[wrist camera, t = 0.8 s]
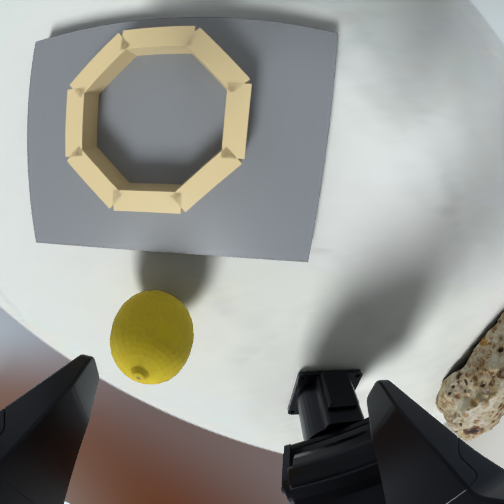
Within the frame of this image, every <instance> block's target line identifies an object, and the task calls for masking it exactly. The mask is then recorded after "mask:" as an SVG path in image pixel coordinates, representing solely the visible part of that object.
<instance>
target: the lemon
mask: <svg viewBox="0 0 504 504" xmlns="http://www.w3.org/2000/svg"><path fill="white" fill-rule="evenodd" d="M193 336H194V334H193V323H192V320H191V317H190V315H189V312H188V310H187V309H186V307H185V306H184V305H183V303H182V302H181V301H180V300H178V299H177V298H176V297H174V296H173V295H171V294H169V293H166V292H163V291H158V290H149V291H143V292H141V293H138V294H136V295H134V296H132V297H131V298H130V299H129V300H127V301H126V302H125V303H124V304H123V305H122V307H121V308H120V310H119V312H118V313H117V315H116V317H115V319H114V322H113V325H112V330H111V336H110V347H111V354H112V357H113V359H114V361H115V363H116V365H117V366H118V367H119V369H120V370H121V371H122V372H123V373H124V374H125V375H126V376H127V377H129V378H131V379H132V380H134V381H137V382H139V383H143V384H159V383H162V382H165V381H168V380H170V379H171V378H173V377H174V376H175V375H177V374H178V373H179V371H180V370H181V369H182V367H183V366H184V364H185V363H186V361H187V359H188V357H189V355H190V351H191V348H192V344H193Z"/></svg>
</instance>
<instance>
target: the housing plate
mask: <svg viewBox="0 0 504 504" xmlns="http://www.w3.org/2000/svg"><path fill="white" fill-rule="evenodd" d="M337 41H338V33H334V32H330V31H325V30H320V29H316V28H310V27H305V26H299V25H293V24H287V23H280V22H272V21H263V20H253V19H240V18H221V17H180V18H161V19H148V20H138V21H130V22H122V23H115V24H109V25H103V26H98V27H92V28H87V29H83V30H78V31H74V32H70V33H66V34H62V35H58V36H54V37H51V38H47V39H44V40H41V41H37V42H36V43H35V49H34V55H33V62H32V70H31V78H30V88H29V101H28V122H27V155H28V177H29V190H30V201H31V210H32V218H33V225H34V232H35V238H36V242H37V243H49V244H62V245H75V246H88V247H101V248H114V249H127V250H141V251H155V252H168V253H182V254H196V255H211V256H225V257H240V258H254V259H269V260H284V261H300V262H308V259H309V254H310V248H311V243H312V237H313V232H314V226H315V220H316V214H317V208H318V202H319V195H320V189H321V182H322V175H323V169H324V162H325V154H326V147H327V139H328V131H329V123H330V115H331V106H332V97H333V87H334V77H335V66H336V54H337Z"/></svg>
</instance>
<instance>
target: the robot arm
mask: <svg viewBox="0 0 504 504" xmlns="http://www.w3.org/2000/svg"><path fill="white" fill-rule="evenodd" d="M361 377H362V372H361V370H341V371H316V372H301V373H299V374H298V377H297V380H296V383H295V387H294V390H293V393H292V397H291V400H290V403H289V406H288V414H291V415H294V414H299V417H300V422H301V427H302V433H303V438H304V441H302V442H299V443H296V444H292V445H291V444H289V445H286V446H284V453H283V470H282V487H281V490H282V492H283V493H284V494H286V496H287V498H288V500H289V502H290V503H291V504H504V469H503V468H501V467H500V466H498V465H496V464H495V463H493V462H492V461H490V460H489V459H487V458H485V457H484V456H482V455H481V454H480V453H478V452H477V451H475V450H474V449H473V448H471V447H470V446H469V445H467V444H466V443H465V442H463V441H462V440H461V439H460V438H457V436H456V435H455V434H454V433H452V432H451V431H450V430H449V429H448V428H446V427H445V426H444V425H443V424H441V423H440V422H439V421H438V420H437V419H435V418H434V417H433V416H432V415H430V414H429V413H428V412H427V411H426V410H424V409H423V408H422V407H421V406H419V405H418V404H417V403H416V402H415V401H413V400H412V399H411V398H410V397H409V396H407V395H406V394H405V393H404V392H402V391H401V390H400V389H399V388H398V387H396V386H395V385H394V384H393V383H392V382H390V381H389V380H379V381H377V382H376V383H375V384H374V386H373V388H372V390H371V391H370V393H369V395H368V397H367V407H368V413H369V417H368V418H366V419H364V416H363V414H362V411H361V408H360V405H359V401H358V398H357V395H356V393H355V389H356V387H357V385H358V383H359V381H360V379H361ZM98 381H99V374H98V370H97V366H96V363H95V359H94V358H93V357H92V356H88V355H80V356H78V357H77V358H75V359H74V360H72V361H71V362H69V363H68V364H67V365H65V366H64V367H62V368H61V369H59V370H58V371H56V372H55V373H54V374H52V375H51V376H49V377H48V378H46V379H45V380H44V381H42V382H41V383H39V384H38V385H36V386H35V387H33V388H32V389H31V390H29V391H28V392H26V393H25V394H23V395H22V396H21V397H19V398H18V399H16V400H15V401H13V402H12V403H11V404H10V405H8V406H6V408H5V409H2V410H1V411H0V504H64V501H65V497H66V493H67V490H68V486H69V482H70V479H71V475H72V472H73V469H74V465H75V462H76V459H77V455H78V453H79V449H80V446H81V443H82V440H83V437H84V434H85V431H86V428H87V426H88V422H89V419H90V415H91V410H92V406H93V402H94V397H95V393H96V389H97V385H98Z"/></svg>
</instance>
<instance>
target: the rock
mask: <svg viewBox="0 0 504 504" xmlns="http://www.w3.org/2000/svg"><path fill="white" fill-rule="evenodd" d="M436 405H437V408H438V409H439V411H440V412H441V413H443V414H444V418H445V419H446V421H447V423H448V425H449V426H450V427H451V430H452V431H454V432H455V433H456V434H457V435H458V436H459V437H460V438H462V439H464V440H466V441H468V440H472V439H473V438H475V437H478V436H479V435H481V434H483V433H485V432H488V431H490V430H491V429H492V428H493V427H494V426H495V425H497V424H498V423H499V421H500V418H501V416H503V415H504V312H503V313H502V314H501V316H500V318H499V319H498V322H497V324H496V325H495V326H494V327H493V328H491V329H490V330H489V331H488V332H487V334H486V335H485V337H484V338H483V339H482V340H481V341H480V342H479V344H478V345H477V346H476V347H475V348H474V350H473V352H472V354H471V356H470V358H469V359H468V361H467V363H466V365H465V366H464V367H463V368H462V369H460V370H459V371H456V372H453V373H452V374H451V375H450V376H448V377H447V378H445V379H444V381H443V383H442V387H441V389H440V391H439V393H438V395H437V398H436Z"/></svg>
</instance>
